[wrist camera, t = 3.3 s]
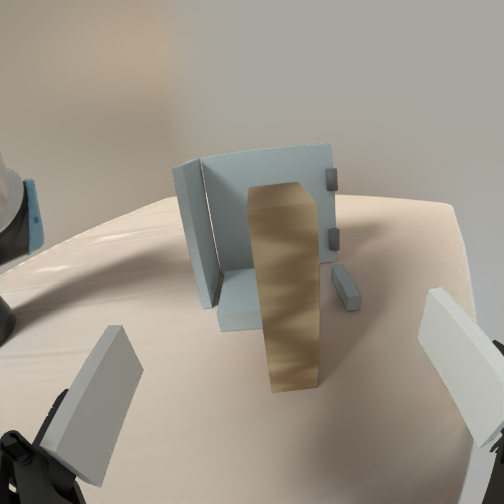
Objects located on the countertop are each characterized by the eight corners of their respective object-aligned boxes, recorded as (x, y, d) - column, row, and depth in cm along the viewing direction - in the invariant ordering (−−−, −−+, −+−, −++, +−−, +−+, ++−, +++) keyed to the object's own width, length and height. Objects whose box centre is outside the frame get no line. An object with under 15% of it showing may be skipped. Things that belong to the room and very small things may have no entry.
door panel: (271, 392, 22) (246, 210, 16) (268, 341, 29) (248, 187, 22) (317, 387, 22) (316, 202, 16) (306, 336, 28) (298, 181, 22)
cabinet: (196, 333, 31) (156, 175, 24) (213, 269, 46) (192, 159, 39) (367, 313, 30) (373, 150, 23) (334, 255, 45) (329, 143, 37)
